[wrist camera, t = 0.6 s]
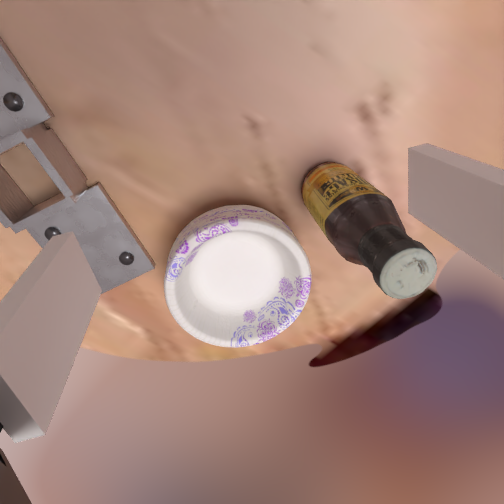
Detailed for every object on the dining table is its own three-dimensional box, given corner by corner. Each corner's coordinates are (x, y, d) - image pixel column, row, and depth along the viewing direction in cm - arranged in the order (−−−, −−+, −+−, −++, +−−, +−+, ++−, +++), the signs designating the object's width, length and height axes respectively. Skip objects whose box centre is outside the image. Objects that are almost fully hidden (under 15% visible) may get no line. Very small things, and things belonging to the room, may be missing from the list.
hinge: (-127, 38, 31) (-180, 33, 26) (-35, -14, 30) (-74, -28, 26) (88, 296, 44) (77, 321, 40) (155, 264, 43) (151, 286, 39)
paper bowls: (200, 172, 40) (201, 195, 32) (317, 226, 44) (340, 256, 37) (149, 285, 45) (140, 326, 38) (258, 322, 50) (269, 364, 43)
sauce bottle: (353, 156, 41) (472, 224, 23) (349, 209, 44) (454, 305, 26) (295, 162, 40) (374, 236, 23) (296, 215, 43) (366, 318, 26)
